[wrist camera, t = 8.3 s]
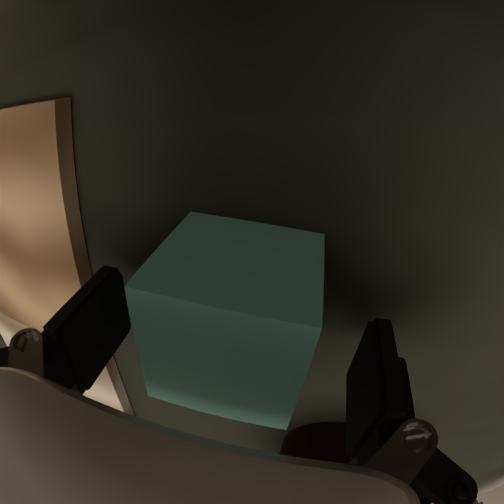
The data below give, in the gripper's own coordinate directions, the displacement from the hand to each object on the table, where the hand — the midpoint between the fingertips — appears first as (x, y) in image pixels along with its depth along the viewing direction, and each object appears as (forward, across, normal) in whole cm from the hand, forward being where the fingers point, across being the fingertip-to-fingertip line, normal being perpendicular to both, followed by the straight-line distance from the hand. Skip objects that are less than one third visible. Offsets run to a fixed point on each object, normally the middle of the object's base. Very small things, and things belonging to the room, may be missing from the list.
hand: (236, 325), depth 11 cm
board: (+2, +14, +6) cm, 16 cm away
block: (+2, 0, -1) cm, 2 cm away
